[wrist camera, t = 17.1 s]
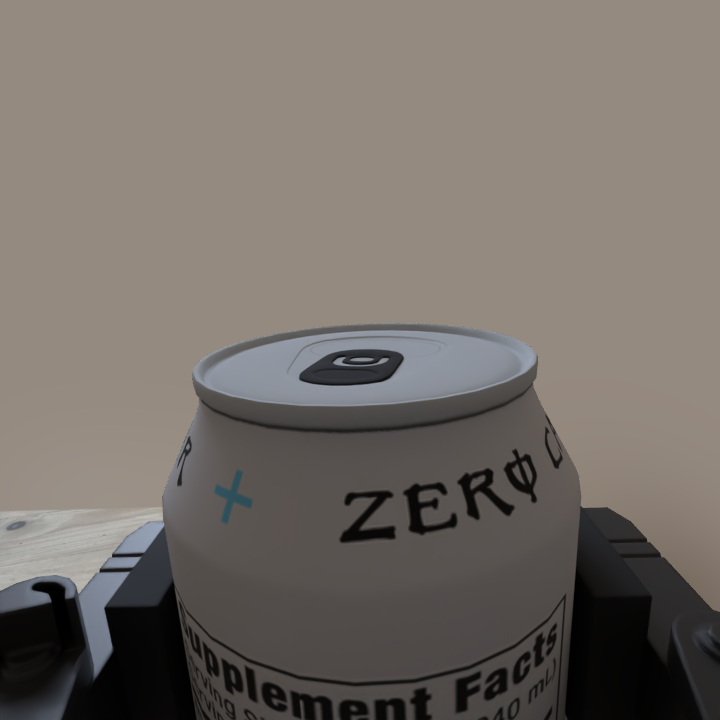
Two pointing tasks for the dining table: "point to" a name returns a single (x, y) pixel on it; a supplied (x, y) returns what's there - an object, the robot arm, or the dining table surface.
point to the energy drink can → (374, 529)
